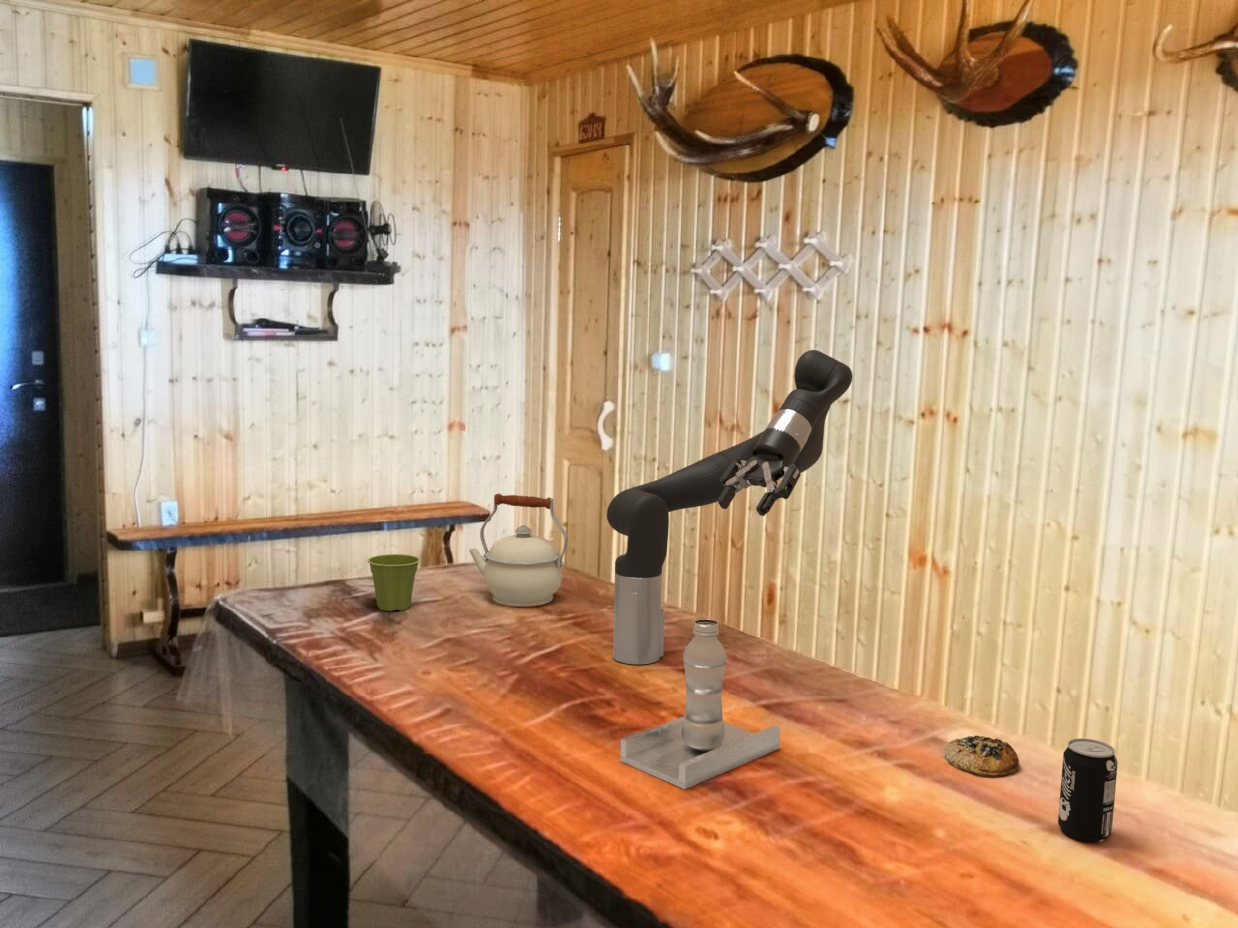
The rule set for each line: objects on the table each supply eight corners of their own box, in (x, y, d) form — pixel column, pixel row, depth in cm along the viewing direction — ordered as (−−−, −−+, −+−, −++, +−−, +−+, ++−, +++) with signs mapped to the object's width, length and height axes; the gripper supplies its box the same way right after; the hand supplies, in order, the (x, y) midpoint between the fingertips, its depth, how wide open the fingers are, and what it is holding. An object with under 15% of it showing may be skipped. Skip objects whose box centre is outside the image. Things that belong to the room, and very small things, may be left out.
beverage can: (1048, 821, 146) (1055, 737, 144) (1094, 820, 146) (1101, 736, 145) (1072, 845, 139) (1080, 757, 138) (1121, 844, 140) (1128, 756, 138)
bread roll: (1022, 755, 168) (1022, 726, 166) (1014, 792, 158) (1015, 761, 157) (948, 745, 172) (948, 716, 171) (937, 780, 163) (936, 750, 162)
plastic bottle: (722, 757, 162) (727, 629, 160) (678, 753, 163) (681, 626, 161) (726, 741, 169) (730, 617, 166) (683, 737, 170) (686, 614, 167)
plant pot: (415, 615, 239) (414, 565, 237) (362, 614, 239) (361, 564, 238) (425, 601, 251) (425, 554, 249) (374, 600, 251) (374, 552, 249)
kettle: (579, 594, 259) (581, 493, 256) (550, 614, 242) (551, 505, 238) (486, 584, 267) (486, 485, 264) (451, 602, 250) (451, 497, 246)
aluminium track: (715, 724, 178) (716, 704, 178) (779, 748, 169) (780, 727, 168) (620, 761, 163) (620, 738, 162) (684, 789, 153) (685, 766, 153)
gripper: (823, 457, 192) (781, 528, 185) (760, 449, 202) (718, 516, 195) (807, 430, 187) (763, 501, 181) (743, 423, 197) (700, 490, 191)
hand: (740, 509), depth 188 cm, fingers open, 8 cm apart
